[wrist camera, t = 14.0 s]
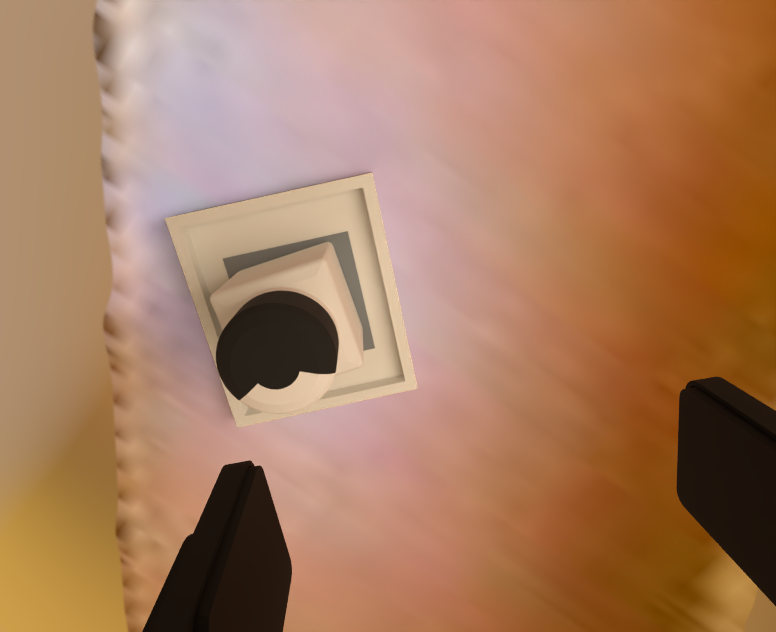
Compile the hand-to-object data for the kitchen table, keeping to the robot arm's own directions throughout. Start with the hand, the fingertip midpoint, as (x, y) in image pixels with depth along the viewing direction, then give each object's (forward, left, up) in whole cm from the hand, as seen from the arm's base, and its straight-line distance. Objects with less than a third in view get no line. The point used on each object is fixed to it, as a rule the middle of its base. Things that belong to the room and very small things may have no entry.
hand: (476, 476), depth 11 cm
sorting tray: (+2, -7, -26) cm, 27 cm away
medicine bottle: (+1, -7, -25) cm, 26 cm away
